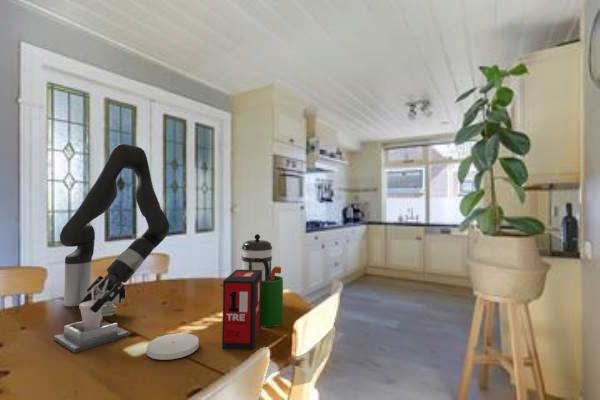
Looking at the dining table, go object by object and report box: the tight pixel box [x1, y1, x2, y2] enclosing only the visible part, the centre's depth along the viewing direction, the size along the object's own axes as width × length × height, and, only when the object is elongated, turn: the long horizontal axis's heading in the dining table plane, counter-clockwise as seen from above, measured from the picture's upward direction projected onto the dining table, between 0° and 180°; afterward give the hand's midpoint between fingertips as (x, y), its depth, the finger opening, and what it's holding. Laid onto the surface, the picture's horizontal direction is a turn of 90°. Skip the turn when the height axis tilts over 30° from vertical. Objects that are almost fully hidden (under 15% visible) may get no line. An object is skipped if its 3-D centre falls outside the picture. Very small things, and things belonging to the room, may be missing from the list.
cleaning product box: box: [221, 269, 262, 351], centre depth 102 cm, size 16×9×20 cm, turn 178°
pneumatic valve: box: [94, 286, 127, 318], centre depth 121 cm, size 6×12×12 cm, turn 115°
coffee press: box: [241, 233, 273, 281], centre depth 133 cm, size 17×16×30 cm
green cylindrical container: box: [261, 266, 284, 328], centre depth 117 cm, size 10×9×20 cm
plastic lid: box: [146, 332, 200, 361], centre depth 93 cm, size 14×14×2 cm
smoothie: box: [78, 287, 102, 331], centre depth 101 cm, size 6×6×14 cm
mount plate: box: [53, 316, 129, 354], centre depth 100 cm, size 15×15×4 cm
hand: (87, 308), depth 99 cm, fingers open, 7 cm apart
